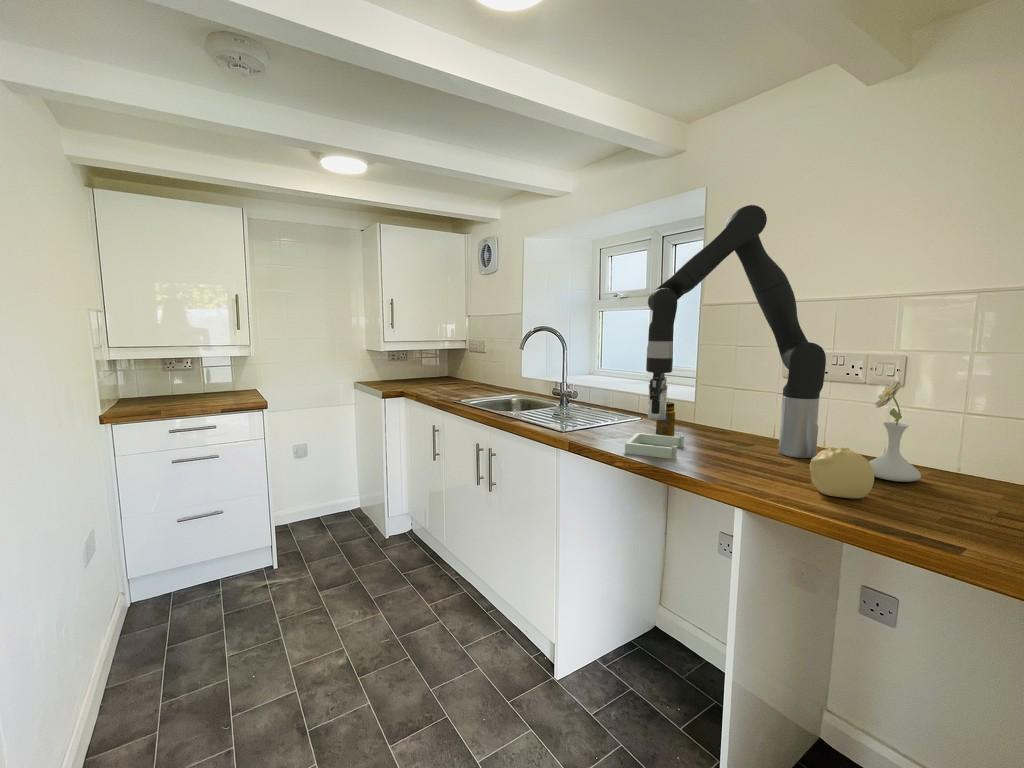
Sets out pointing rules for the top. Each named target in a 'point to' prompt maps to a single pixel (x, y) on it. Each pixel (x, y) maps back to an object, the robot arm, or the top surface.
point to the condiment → (667, 422)
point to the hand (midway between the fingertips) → (657, 411)
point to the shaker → (662, 405)
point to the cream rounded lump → (841, 473)
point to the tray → (651, 450)
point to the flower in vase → (893, 444)
